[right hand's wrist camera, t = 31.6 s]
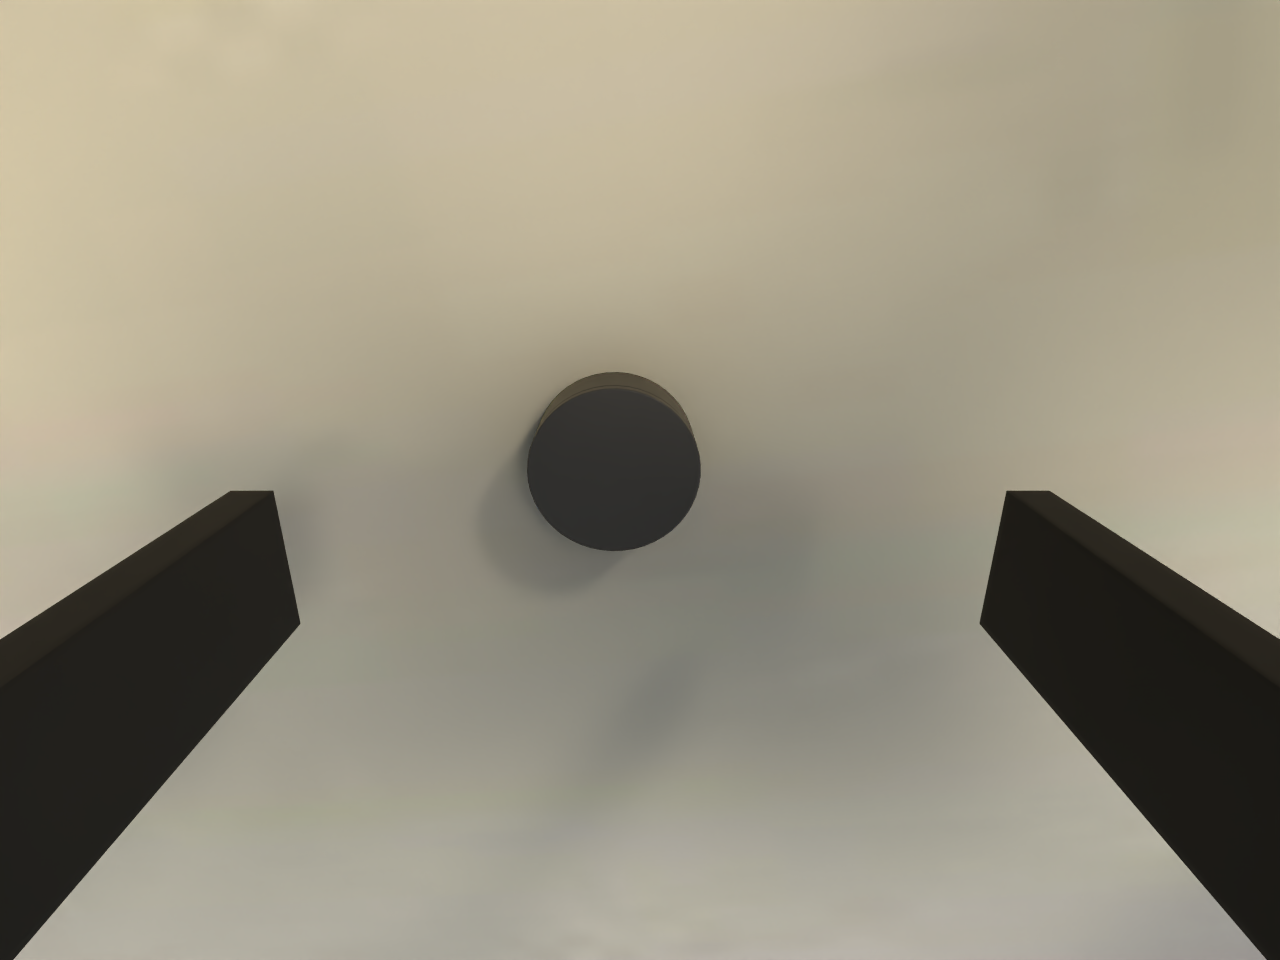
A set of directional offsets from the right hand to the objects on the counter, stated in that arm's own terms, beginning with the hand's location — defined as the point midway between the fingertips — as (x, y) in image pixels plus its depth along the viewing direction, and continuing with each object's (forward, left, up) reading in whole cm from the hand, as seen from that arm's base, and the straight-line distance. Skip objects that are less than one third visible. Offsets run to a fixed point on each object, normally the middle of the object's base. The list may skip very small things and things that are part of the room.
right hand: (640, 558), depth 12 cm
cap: (0, 0, -4) cm, 4 cm away
